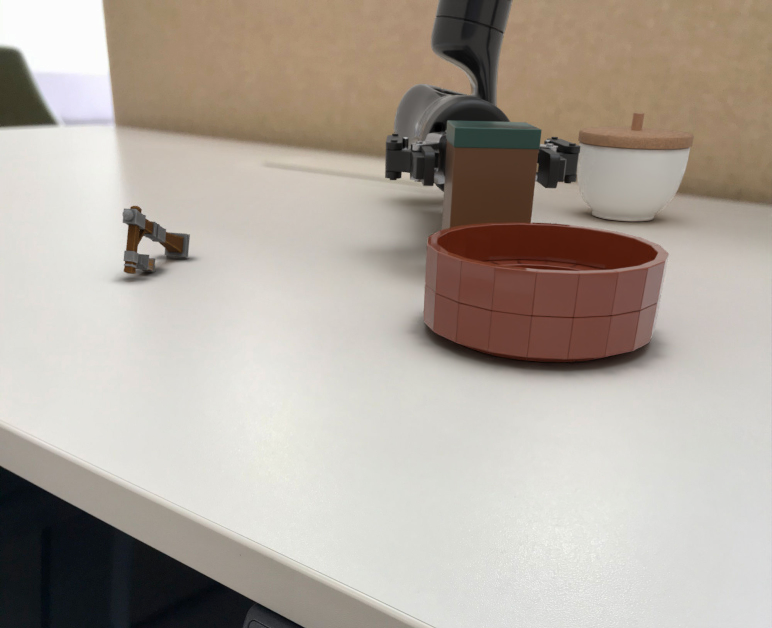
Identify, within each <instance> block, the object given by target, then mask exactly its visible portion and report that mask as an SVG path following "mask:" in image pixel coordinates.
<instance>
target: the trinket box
mask: <svg viewBox="0 0 772 628" xmlns="http://www.w3.org/2000/svg"><path fill="white" fill-rule="evenodd" d="M644 119H645V112H633V113H632V120H631V126H591V127H583V128H582V129H580V130H579V131H578V138H577V141H578V145H579V146H581V147H580V153H579V157H578V165H577V173H576V174H577V178H576V181H577V186H578V190H579V193H580V195H581V197H582V199H583V200H584V203H585V205H587V206H588V207H589V209H590V210H591V215H592V216H593V217H596V218H600V219H604V220H610V221H617V222H648V221H652V220H654V219H655V215H656V214H658V213H659V212H660V211H662V210H663V209H664V208H665V207H666V206H668V204H669V203H671V201H672V200H673V198H674V197H675V196H676V194H677V192H678V190H679V189H680V187H681V184H682V181H683V179H684V176H685V174H686V170H687V166H688V162H689V156H690V151H691V147H692V146H693V143H694V135H693V134H692V133H691V132H687V131H682V130H673V129H666V128H657V127H656V128H654V127H643V124H644Z"/></svg>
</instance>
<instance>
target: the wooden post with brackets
mask: <svg viewBox="0 0 772 628" xmlns="http://www.w3.org/2000/svg"><path fill="white" fill-rule="evenodd" d="M142 211H143V209H142V208H141V207H140V206H138V205H132V206H130V207H129V208H123V211H122V223H123V224H126V225H127V236H126V245H125V250H123V259H122V260H123V262H124V263H123V272H124V273H126V274H129V275H130V274H132V275H136V274H137V271H136V270H141V272H150V273H155V271H156V270H155V269H156V258H151V257H150V254H145V253H144V254H143V253H138V247H139V244H140V243H141V241H142V239H143V237H144V238H148V239H149V240H151V241H152V242H154V243H159V244H160V245H161V246H162V247H163V248H164V256H165V257H166V258H173V259H174V258H175V259H176V258H177V259H189V253H190V252H189V250H190V238H191V233H190V234H189V233H185V232H183V233H182V232H169V231H167V228H164V227H163V226H161V225H160V224H159V223H158V222H156V221H150V220H149V219H147V215H146V214H143V213H142Z"/></svg>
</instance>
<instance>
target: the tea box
mask: <svg viewBox="0 0 772 628" xmlns="http://www.w3.org/2000/svg"><path fill="white" fill-rule="evenodd" d="M446 139H447V146H446V164H445V182H444V192H443V203H442V218H441V219H442V221H441V230H443V229H447V228H452V227H456V226H462V225H471V224H481V223H499V222H530V223H532V216H533V207H534V196H535V188H536V187H535V186H536V181H535V179H536V172H537V170H538V163H537V160H538V151H539V149H540V144H541V140H542V129H541V128H539V127H537V126H535V125H532V124H530V123H528V122H526V121H510V122H493V121H452V120H448V121H447V132H446Z"/></svg>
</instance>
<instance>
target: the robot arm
mask: <svg viewBox="0 0 772 628" xmlns="http://www.w3.org/2000/svg"><path fill="white" fill-rule="evenodd" d="M513 2H514V0H438V2H437V6H436V12H435V17H434V21H433V25H432V29H431V36H430V48H431V50H432V52H433V53H434V54H435V55H436V56H437V57H438V58H439V59H441V60H443V61H445V62H446V63H449V64H451V65H453V66H455V68H458V69H459V70H460V71H462V72H463V73H464V74H465V75H466V77H467V79H468V82H469V86H470V94H468V93H464V92H459V91H455V90H453V89H448V88H445V87H441V86H437V85H433V84H428V83H427V84H426V83H417V84H414V85H412V86H411V87H410V88H409V89H407V91H406V92H405V93H404V94H403V95H402V97H401V99H400V100H399V102H398V105H397V108H396V110H395V114H394V120H393V132H392V133H391V134H388V135H387V136H386V140H385V159H384V160H385V162H384V163H385V165H384V166H385V167H384V178H385V179H389V181H397V180H398V179H402V177H403V176H402V174H403V173H408V174H409V180H410V181H414V182H415V183H421V184H422V186H423V187H434V185H435V186H436V187H437V188H438V189H439V190H440V191H441V192H442V193H444V182H445V164H446V146H447V139H446V132H447V121H448V120H452V121H493V122H511V120H510V119H509V118H508V116H507V115H506V114H505V112H504V111H503V110H502V109H501V108H499V106H498V79H499V77H498V76H499V65H500V58H501V52H502V47H503V42H504V37H505V33H506V29H507V24H508V21H509V19H510V18H509V17H510V13H511V10H512V6H513V5H512V4H513ZM580 147H581V146H579V144H577V143H575V142H571V141H569V140H565V139H562V138H559V137H558V136H551V137H549V138H546V139H545V140H544V143H540V149H539V151H538V160H537V171H536V179H535V183H536V182H537V183H538V184H540V185H541V186H542V187H543V188H545V189H557V187H558V183H564V184H572V183H575V182H577V165H578V157H579V153H580Z"/></svg>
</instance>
